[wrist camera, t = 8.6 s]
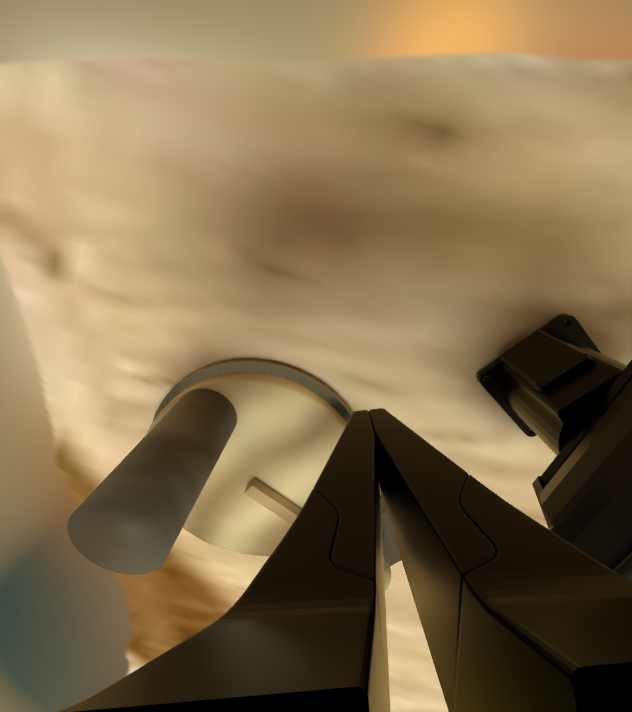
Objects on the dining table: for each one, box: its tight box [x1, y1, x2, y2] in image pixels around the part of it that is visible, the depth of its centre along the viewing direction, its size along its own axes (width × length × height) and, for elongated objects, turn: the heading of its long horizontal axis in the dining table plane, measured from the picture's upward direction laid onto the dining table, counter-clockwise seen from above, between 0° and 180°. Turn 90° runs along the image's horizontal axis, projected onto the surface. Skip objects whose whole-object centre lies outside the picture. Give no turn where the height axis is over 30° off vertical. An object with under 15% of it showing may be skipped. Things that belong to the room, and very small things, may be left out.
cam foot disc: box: [68, 372, 391, 590], centre depth 19 cm, size 21×16×10 cm
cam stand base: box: [152, 359, 402, 567], centre depth 25 cm, size 23×17×2 cm
